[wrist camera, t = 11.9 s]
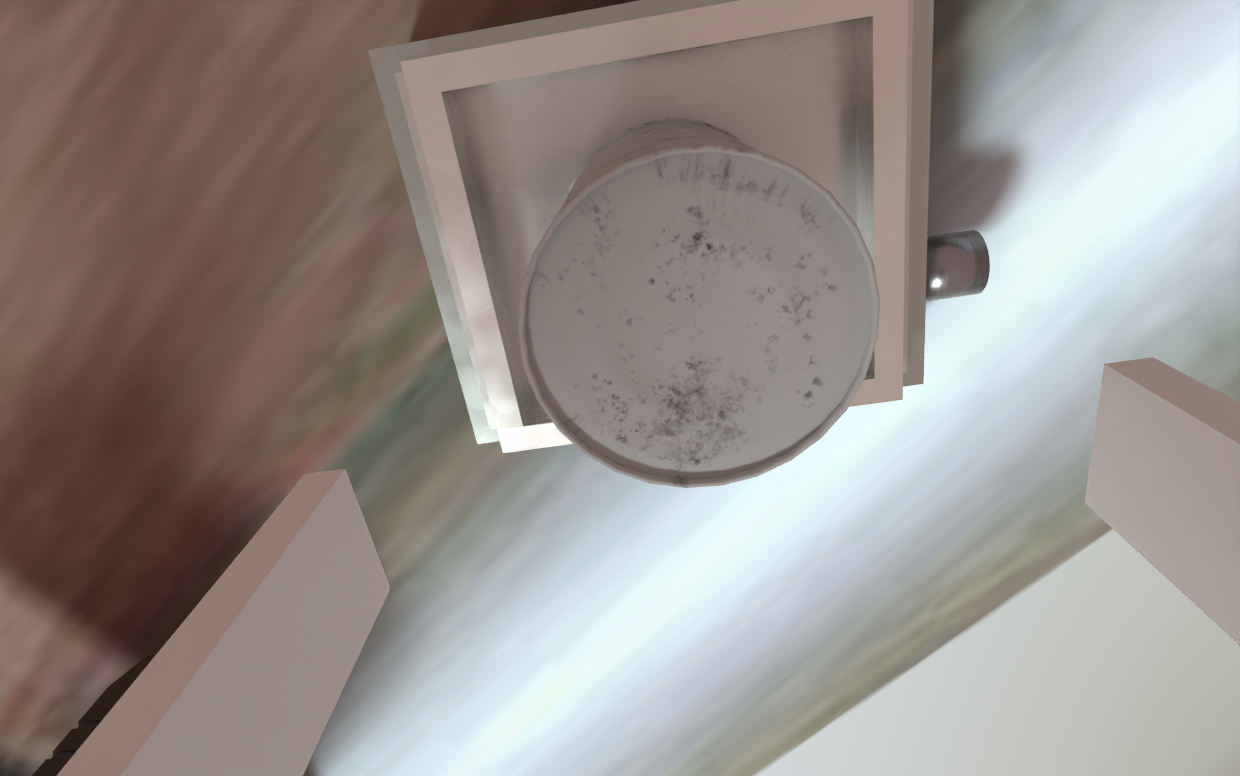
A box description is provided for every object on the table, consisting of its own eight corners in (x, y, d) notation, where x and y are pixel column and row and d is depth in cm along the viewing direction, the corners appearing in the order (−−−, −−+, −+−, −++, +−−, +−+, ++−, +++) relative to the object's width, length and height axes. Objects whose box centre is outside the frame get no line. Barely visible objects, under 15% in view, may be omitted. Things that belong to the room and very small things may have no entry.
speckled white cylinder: (515, 250, 29) (446, 354, 18) (661, 63, 26) (685, 51, 15) (679, 380, 32) (706, 543, 21) (830, 224, 29) (957, 314, 18)
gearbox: (495, 401, 39) (465, 473, 32) (405, 54, 31) (339, 46, 24) (943, 338, 37) (1018, 400, 30) (958, -47, 29) (1063, -86, 22)
